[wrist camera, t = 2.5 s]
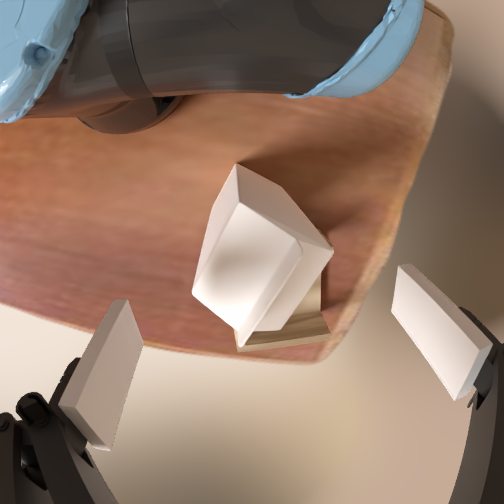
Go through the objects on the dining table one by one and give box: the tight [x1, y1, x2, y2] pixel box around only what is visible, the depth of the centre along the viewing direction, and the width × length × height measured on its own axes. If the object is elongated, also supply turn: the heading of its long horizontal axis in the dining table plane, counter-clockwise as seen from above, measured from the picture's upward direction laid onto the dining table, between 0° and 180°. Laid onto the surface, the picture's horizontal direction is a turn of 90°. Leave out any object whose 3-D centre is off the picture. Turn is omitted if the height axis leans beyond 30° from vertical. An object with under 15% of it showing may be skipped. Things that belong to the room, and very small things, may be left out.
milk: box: [192, 163, 334, 347], centre depth 23 cm, size 6×6×22 cm
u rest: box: [234, 229, 334, 352], centre depth 35 cm, size 12×12×6 cm
